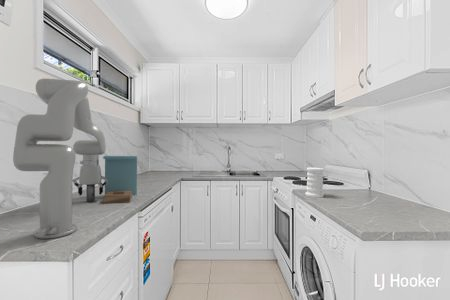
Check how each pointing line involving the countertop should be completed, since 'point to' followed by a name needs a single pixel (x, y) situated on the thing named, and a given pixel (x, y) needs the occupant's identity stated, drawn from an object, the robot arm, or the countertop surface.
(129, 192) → the socket block
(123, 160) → the teal upright box
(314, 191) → the decorative container
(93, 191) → the peg
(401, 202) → the countertop surface
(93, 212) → the countertop surface
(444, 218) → the countertop surface
